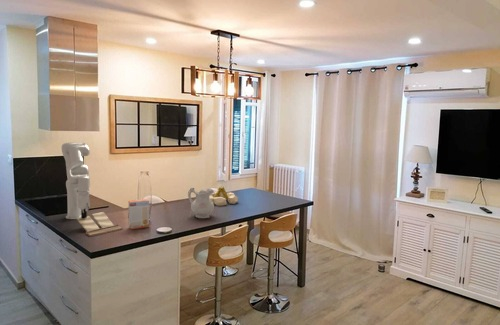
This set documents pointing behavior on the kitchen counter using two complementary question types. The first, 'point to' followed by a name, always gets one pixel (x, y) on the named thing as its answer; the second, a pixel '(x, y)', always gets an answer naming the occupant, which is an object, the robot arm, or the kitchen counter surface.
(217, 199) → the campfire
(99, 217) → the plank far
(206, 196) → the ceramic pitcher
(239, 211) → the kitchen counter surface
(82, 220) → the plank near
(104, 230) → the laid floor strip
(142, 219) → the cracker box
